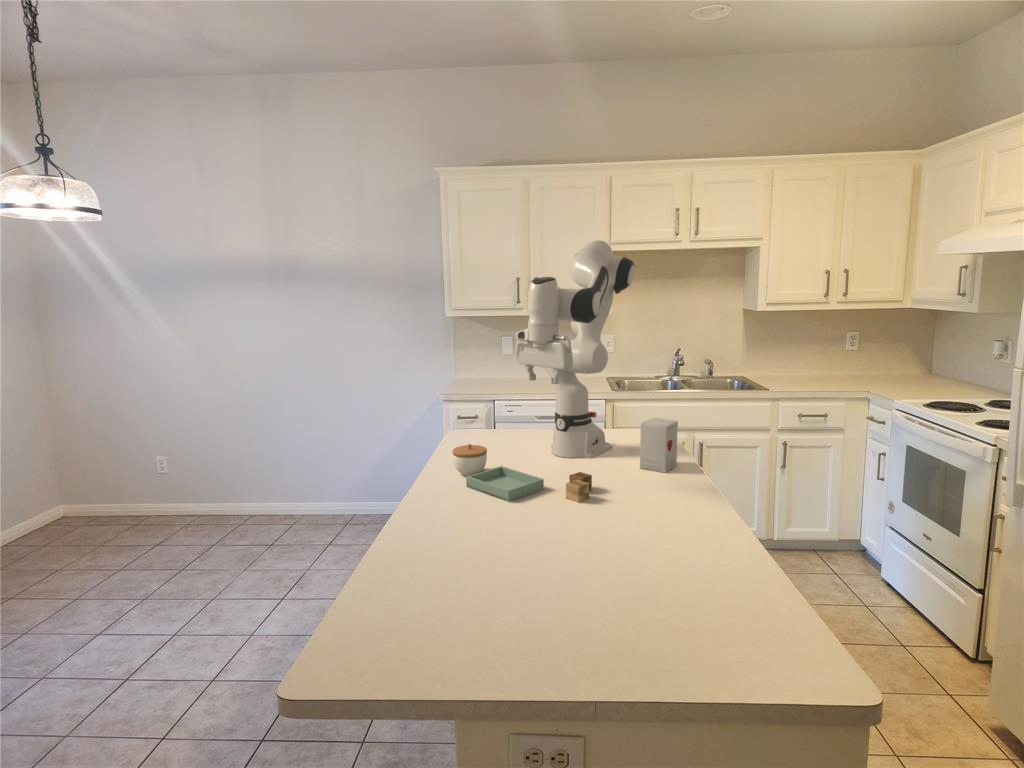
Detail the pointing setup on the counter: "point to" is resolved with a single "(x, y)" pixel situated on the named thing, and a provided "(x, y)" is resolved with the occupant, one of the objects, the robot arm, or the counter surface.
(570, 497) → the oak block
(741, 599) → the counter surface
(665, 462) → the supplement box
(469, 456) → the lidded jar
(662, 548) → the counter surface
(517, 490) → the tray
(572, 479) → the walnut block
